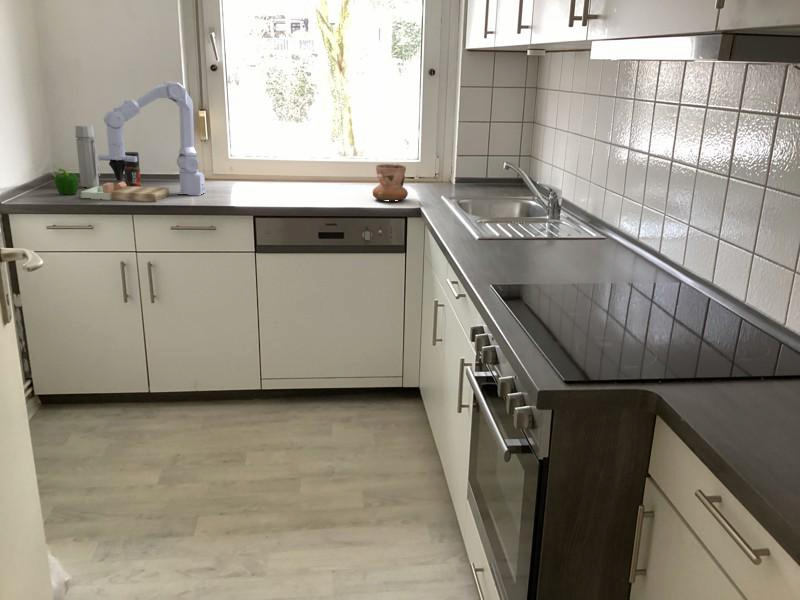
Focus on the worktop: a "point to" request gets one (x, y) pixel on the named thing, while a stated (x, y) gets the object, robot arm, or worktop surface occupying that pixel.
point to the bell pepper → (66, 183)
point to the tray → (95, 193)
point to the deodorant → (132, 171)
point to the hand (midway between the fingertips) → (119, 180)
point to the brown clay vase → (390, 182)
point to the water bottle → (87, 156)
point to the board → (140, 193)
